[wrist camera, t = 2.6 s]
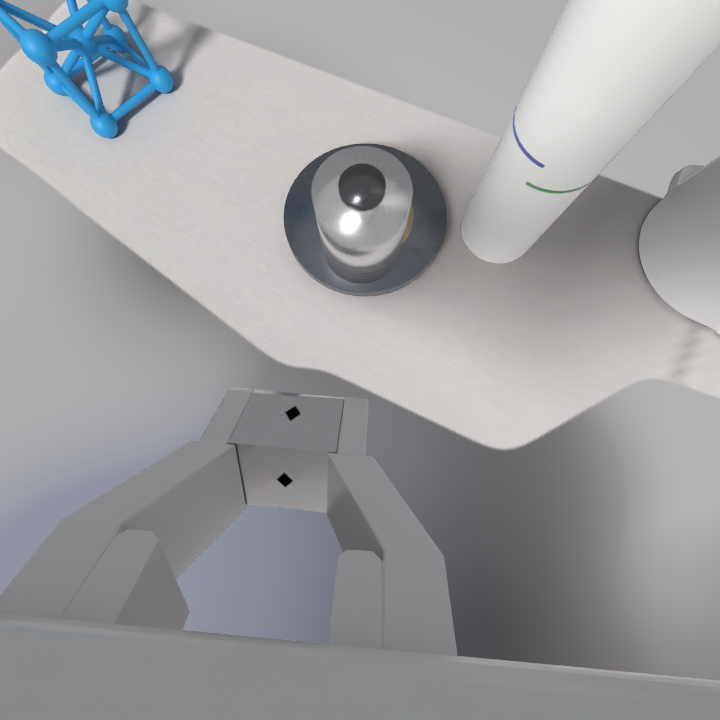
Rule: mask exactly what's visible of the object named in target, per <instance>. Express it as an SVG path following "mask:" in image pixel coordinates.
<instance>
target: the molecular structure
mask: <svg viewBox="0 0 720 720" xmlns="http://www.w3.org/2000/svg"><path fill="white" fill-rule="evenodd" d="M87 2H88V3H87V4H86V5H85V6H83V7H82V8H80V9H79V10H78V7H77V3H76V0H67V4H68V8H69V12H70V15H71V16H70V17H68V18H67V19H66V20H64V21H63V22H62V23H60V24H59V25H57V26H56V25H54V24H52V23H50V22H48V21H46V20H43V19H41V18H39V17H37V16H35V15H33V14H31V13H29V12H26V11H24V10H22V9H20V8H18V7H16V6H14V5H12V4H9V3H7V2H5V1H3V0H0V22H1V23H2V24H3V25H4V26H5V27H6V28H7V30H8V31H9V32H10V33H11V34H12V35H13V36H14V37H15V39H16V40H17V41H18V42H19V43H20V44H21V47H22V49H23V51H24V53H25V54H26V55H27V57H29V58H30V59H31V60H32V61H33V62H35V63H37V64H39V66H40V67H41V68H42V69H43V70H44V71H45V73H44V79H45V82H46V84H47V86H48V87H49V88H50V89H51V90H52V91H53V92H55V93H56V94H59V95H63V96H64V95H68V96H69V97H70V98H71V99H72V100H73V101H74V102H75V103H77V104H78V105H79V106H80V107H81V108H82V109H83V110H84V111H85V112H86V113H87V114H88V115H89V116H90V117H91V126H92V128H93V130H94V131H95V132H96V133H97V134H98V135H100V136H102V137H104V138H113V137H115V136H116V135H117V132H118V125H117V123H116V122H117V121H118V120H119V119H120V118H122V117H123V116H124V115H125V114H127V113H128V112H129V111H130V110H132V109H133V108H134V107H135V106H136V105H138V104H139V103H140V102H141V101H143V100H144V99H145V98H146V97H148V96H149V95H150V94H151V93H153V92H154V91H155V90H157V91H159V92H161V93H168V92H170V91H171V90H172V89H173V86H174V81H173V77H172V75H171V73H170V72H169V71H168V70H167V69H166V68H165V67H163V66H159V65H157V64H156V62H155V60H154V58H153V57H152V55H151V53H150V51H149V50H148V48H147V46H146V44H145V42H144V41H143V39H142V37H141V35H140V34H139V32H138V30H137V28H136V26H135V25H134V23H133V21H132V19H131V18H130V16H129V14H128V12H127V10H126V8H127V6H128V0H87ZM109 10H111V11H113V12H117V13H119V15H120V17H121V18H122V20H123V22H124V23H125V25H126V27H127V28H128V30H129V32H130V34H131V35H132V37H133V39H134V40H135V42H136V44H137V46H138V47H139V49H140V51H141V52H142V54H143V56H144V57H145V59H146V61H147V62H146V61H145V60H144V59H143V58H142V57H141V56H140V55H138V54H137V53H136V52H135V51H134V50H133V49H132V48H131V47H129V46H128V40H127V37H126V35H125V33H124V32H123V31H122V30H121V29H120V28H119V27H118V26H116V25H113V24H110V23H109V21H108V20H107V18H106V17H105V16H106V15H107V13H108V11H109ZM8 13H9V14H11V15H14V16H16V17H18V18H20V19H22V20H24V21H27V22H29V23H31V24H33V25H35V26H38V27H40V28H42V29H44V30H46V31H48V33H47V34H44V33H42V32H41V31H38V30H35V29H25V28H23V27H22V26H21V25H20V24H19V23H18V22H17V21H16V20H15V19H14V18H13V17H11V15H9V14H8ZM87 20H89V21H88V23H87V24H86V26H85V28H83V26H82V24H83V23H85V22H86V21H87ZM101 23H102V25H103V27H104V28H103V30H102V35H100V36H94V34H95V32H96V31H97V29H98V28H99V26H100V24H101ZM109 49H111V50H113V51H115V52H118V53H121V52H124V51H125V52H126V53H127V54H128V55H129V56H130V57H131V58H132V59H134V60H135V61H136V62H137V63H138V64H137V63H134V62H132V61H130V60H128V59H126V58H124V57H122V56H120V55H117V54H115V53H113V52H111V51H109ZM65 50H71V52H70V53H69V55H68V57H67V58H66V60H65V62H64V63H63V65H62V67H60V65H59V64H58V63H57V62H56V60H57V51H65ZM80 56H81V57H82V58H81V59H79V58H80ZM100 56H103V57H105V58H107V59H109V60H111V61H113V62H116V63H118V64H120V65H122V66H124V67H126V68H129V69H131V70H133V71H135V72H137V73H139V74H142V75H144V76H146V77H148V78H149V80H150V83H149V84H147V85H146V86H145V87H144V88H142V89H141V90H140V91H139V92H137V93H136V94H135V95H134V96H132V97H131V98H130V99H129V100H127V101H126V102H125V103H124V104H122V105H121V106H120V107H119V108H117V109H116V110H115V111H114V112H112V113H111V114H110V115H109V114H108V113H106V112H105V110H104V106H103V102H102V98H101V94H100V91H99V87H98V83H97V79H96V75H95V72H94V68H93V64H92V62H94V61H95V60H96V59H98V58H99V57H100ZM84 68H85V70H86V74H87V78H88V81H89V85H90V89H91V92H92V96H93V100H94V103H95V107H96V109H95V107H94V106H93V105H92V104H91V103H90V101H89V100H88V99H87V98H86V97H85V95H84V94H83V93H82V92H81V91H80V89H79V88H78V87H77V86H76V85H75V83H74V82H73V81H72V80H71V78H73V77H74V76H75V75H77V74H78V73H79V72H81V71H82V70H83V69H84Z"/></svg>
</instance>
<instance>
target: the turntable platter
mask: <svg viewBox="0 0 720 720" xmlns="http://www.w3.org/2000/svg"><path fill="white" fill-rule="evenodd" d="M354 146H370V147H375V148H379V149H382V150H384V151H386V152H388V153H390V154H392V155H393V156H395V157H396V158H397V159H398V160H399V161H400V162H401V163H402V164H403V165H404V166H405V168H406V170H407V171H408V173H409V175H410V178H411V181H412V187H413V196H412V202H411V206H410V211H409V215H408V220H407V224H406V229H405V233H404V238H403V242H402V247H401V251H400V256H399V259H398V261H397V263H396V265H395V267H394V268H393V269H392V271H391V272H390V273H389V274H387V275H386V276H385V277H383V278H382V279H380V280H378V281H375V282H371V283H364V284H360V283H352V282H349V281H346V280H344V279H342V278H340V277H339V276H337V275H336V274H335V273H334V272H333V271H332V270H331V269H330V267H329V266H328V264H327V262H326V260H325V257H324V252H323V248H322V243H321V238H320V234H319V229H318V224H317V220H316V215H315V210H314V206H313V201H312V194H311V189H312V182H313V178H314V176H315V173H316V172H317V170H318V168H319V167H320V165H321V164H322V163H323V162H324V161H325V160H326V159H327V158H328V157H330V156H331V155H333V154H334V153H336V152H338V151H340V150H342V149H346V148H349V147H354ZM284 227H285V232H286V236H287V239H288V242H289V245H290V247H291V250H292V252H293V254H294V256H295V258H296V260H297V261H298V263H299V264H300V265H301V267H302V268H303V269H304V270H305V271H306V272H307V273H308V274H309V275H310V276H311V277H312V278H313V279H315V280H316V281H317V282H319V283H320V284H322V285H324V286H325V287H327V288H330V289H332V290H334V291H337V292H340V293H344V294H348V295H354V296H377V295H382V294H387V293H390V292H393V291H396V290H398V289H400V288H402V287H404V286H406V285H408V284H410V283H411V282H413V281H414V280H416V279H417V278H418V277H419V276H420V275H421V274H422V273H423V272H424V271H425V270H426V269H427V268H428V267H429V265H430V264H431V262H432V261H433V259H434V258H435V256H436V254H437V252H438V250H439V247H440V245H441V243H442V240H443V237H444V233H445V227H446V208H445V202H444V199H443V195H442V193H441V190H440V188H439V186H438V184H437V183H436V181H435V179H434V178H433V176H432V175H431V174H430V173H429V172H428V170H427V169H426V168H425V167H424V166H423V165H421V164H420V163H419V162H418V161H416V160H415V159H414V158H412V157H411V156H409V155H407V154H405V153H403V152H401V151H399V150H396V149H394V148H391V147H387V146H383V145H376V144H353V145H348V146H343V147H340V148H336V149H333V150H331V151H329V152H327V153H324V154H323V155H321V156H319V157H318V158H316V159H315V160H314V161H312V162H311V163H310V164H308V165H307V166H306V167H305V168H304V169H303V170H302V171H301V173H300V174H299V175H298V177H297V178H296V179H295V181H294V183H293V184H292V186H291V188H290V190H289V193H288V196H287V199H286V203H285V208H284Z"/></svg>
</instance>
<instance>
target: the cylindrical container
mask: <svg viewBox="0 0 720 720" xmlns="http://www.w3.org/2000/svg"><path fill="white" fill-rule="evenodd" d="M719 45H720V0H568V2H567V4H566V6H565V8H564V10H563V12H562V14H561V16H560V18H559V21H558V22H557V25H556V27H555V29H554V31H553V33H552V35H551V37H550V39H549V41H548V43H547V45H546V47H545V49H544V51H543V54H542V56H541V58H540V60H539V62H538V64H537V66H536V68H535V70H534V72H533V74H532V76H531V78H530V80H529V82H528V84H527V87H526V88H525V90H524V92H523V95H522V97H521V99H520V101H519V103H518V105H517V107H516V109H515V111H514V113H513V115H512V117H511V119H510V121H509V124H508V126H507V128H506V130H505V132H504V134H503V136H502V138H501V140H500V142H499V144H498V146H497V148H496V150H495V153H494V155H493V157H492V159H491V161H490V163H489V165H488V167H487V169H486V171H485V173H484V175H483V177H482V179H481V182H480V184H479V186H478V188H477V190H476V192H475V194H474V196H473V198H472V200H471V202H470V204H469V206H468V208H467V210H466V212H465V214H464V216H463V219H462V223H461V234H462V238H463V241H464V243H465V245H466V246H467V248H468V249H469V250H470V251H471V252H472V253H473V254H474V255H475V256H477V257H478V258H480V259H482V260H484V261H487V262H490V263H498V264H500V263H508V262H512V261H514V260H516V259H518V258H520V257H521V256H522V255H523V254H524V253H525V252H526V251H527V250H528V249H529V248H530V247H531V246H532V245H533V244H534V243H535V242H536V241H537V240H538V239H539V237H540V236H541V235H542V234H543V233H544V232H545V231H546V230H547V229H548V228H549V227H550V226H551V225H552V224H553V222H554V221H555V220H556V219H557V218H558V217H559V216H560V215H561V214H562V213H563V212H564V211H565V210H566V209H567V208H568V206H569V205H570V204H571V203H572V202H573V201H574V200H575V199H576V198H577V197H578V196H579V195H580V194H581V193H582V191H583V190H584V189H585V188H586V187H587V186H588V185H589V184H590V183H591V182H592V181H593V180H594V179H595V178H596V177H597V175H598V174H599V173H600V172H601V171H602V170H603V169H604V168H605V167H606V166H607V165H608V164H609V163H610V161H611V160H612V159H613V158H614V157H615V156H616V155H617V154H618V153H619V152H620V151H621V150H622V149H623V148H624V147H625V146H626V144H627V143H628V142H629V141H630V140H631V139H632V138H633V137H634V136H635V135H636V134H637V133H638V132H639V130H640V129H641V128H642V127H643V126H644V125H645V124H646V123H647V122H648V121H649V120H650V119H651V117H653V115H655V113H656V112H657V111H658V110H659V109H660V108H661V107H662V106H663V105H664V104H665V103H666V102H667V101H668V100H669V98H670V97H671V96H672V95H673V94H674V93H675V92H676V91H677V90H678V89H679V88H680V87H681V86H682V85H683V84H684V82H685V81H686V80H687V79H688V78H689V77H690V76H691V75H692V74H693V73H694V72H695V71H696V70H697V69H698V67H699V66H700V65H701V64H702V63H703V62H704V61H705V60H706V59H707V58H708V57H709V56H710V55H711V53H713V51H714V50H715V49H716V48H717V47H718V46H719Z"/></svg>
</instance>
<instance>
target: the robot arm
mask: <svg viewBox="0 0 720 720" xmlns="http://www.w3.org/2000/svg"><path fill="white" fill-rule="evenodd" d="M639 254H640V260H641V264H642V267H643V270H644V272H645V274H646V277H647V278H648V280H649V282H650V284H651V285H652V287H653V288H654V290H655V291H656V292H657V293H658V295H659V296H660V297H661V298H662V299H663V300H664V301H665V302H666V303H667V304H668V305H670V306H671V307H672V308H673V309H675V310H676V311H678V312H679V313H681V314H682V315H684V316H686V317H688V318H690V319H692V320H694V321H697V322H699V323H701V324H704V325H706V326H708V327H710V328H712V329H714V330H715V331H716V332H717V333H718V334H719V335H720V156H719V157H718V158H716V159H715V160H713V161H712V162H711V163H709V164H707V165H706V166H695V165H692V166H687V167H685V168H683V169H682V170H680V171H679V172H677V173H676V174H675V175H674V176H673V178H672V180H671V183H670V186H669V189H668V192H667V194H666V196H665V197H664V198H663V199H662V200H661V201H660V202H659V203H658V204H657V205H656V206H655V207H654V208H653V209H652V210H651V211H650V213H649V214H648V216H647V217H646V219H645V221H644V223H643V225H642V228H641V232H640V237H639ZM367 419H368V400H367V399H362V398H340V397H339V398H338V397H327V396H315V395H302V394H301V395H300V394H294V393H285V392H275V391H267V390H258V389H256V390H253V389H245V388H236V387H233V388H232V389H230V390H229V391H228V392H227V394H226V395H225V397H224V399H223V401H222V402H221V404H220V406H219V407H218V409H217V411H216V413H215V414H214V416H213V418H212V420H211V421H210V424H209V425H208V426H207V428H206V430H205V432H204V434H203V435H202V437H201V439H200V441H191V442H189V443H187V444H186V445H184V446H182V447H181V448H179V449H177V450H176V451H174V452H172V453H171V454H169V455H168V456H166V457H164V458H163V459H161V460H159V461H158V462H156V463H154V464H153V465H151V466H150V467H148V468H146V469H144V470H143V471H141V472H140V473H138V474H136V475H135V476H133V477H131V478H130V479H128V480H126V481H125V482H123V483H121V484H120V485H118V486H117V487H115V488H113V489H112V490H110V491H108V492H107V493H105V494H104V495H102V496H100V497H99V498H97V499H95V500H94V501H92V502H90V503H89V504H87V505H85V506H84V507H82V508H80V509H79V510H77V511H76V512H74V513H72V514H71V515H69V516H67V517H66V518H64V519H62V520H61V521H60V522H59V523H58V525H57V526H56V527H55V528H54V530H53V531H52V532H51V534H50V535H49V536H48V537H47V538H46V540H45V541H44V542H43V543H42V545H41V546H40V547H39V548H38V549H37V551H36V552H35V553H34V555H33V556H32V557H31V558H30V559H29V561H28V562H27V563H26V564H25V566H24V567H23V568H22V569H21V571H20V572H19V573H18V574H17V576H16V577H15V578H14V579H13V581H12V582H11V583H10V584H9V586H8V587H7V588H6V589H5V590H4V592H3V593H2V594H1V595H0V720H720V681H717V680H706V679H695V678H685V677H674V676H664V675H653V674H643V673H632V672H621V671H611V670H600V669H590V668H579V667H567V666H557V665H546V664H536V663H526V662H515V661H505V660H494V659H482V658H472V657H462V656H457V650H456V643H455V635H454V628H453V620H452V613H451V605H450V599H449V591H448V583H447V576H446V569H445V562H444V556H443V555H442V553H441V552H440V550H439V549H438V548H437V546H436V545H435V543H434V542H433V541H432V539H431V538H430V536H429V535H428V534H427V532H426V531H425V529H424V528H423V527H422V525H421V524H420V522H419V521H418V520H417V518H416V517H415V515H414V514H413V513H412V511H411V510H410V508H409V507H408V506H407V504H406V503H405V501H404V500H403V499H402V497H401V496H400V494H399V493H398V492H397V490H396V489H395V487H394V486H393V485H392V483H391V482H390V480H389V479H388V478H387V476H386V475H385V473H384V472H383V471H382V469H381V468H380V466H379V465H378V464H377V462H376V461H375V459H374V458H373V457H368V456H365V455H366V437H367ZM246 506H262V507H278V508H291V509H299V510H308V511H317V512H324V513H327V517H328V519H329V521H330V523H331V526H332V528H333V530H334V533H335V535H336V537H337V540H338V542H339V544H340V547H341V549H342V551H343V553H342V554H341V555H340V556H339V557H338V565H337V573H336V581H335V589H334V599H333V606H332V614H331V623H330V631H329V639H328V644H324V643H313V642H303V641H291V640H281V639H271V638H259V637H249V636H239V635H228V634H218V633H207V632H196V631H185V630H183V627H184V625H185V622H186V620H187V617H188V614H189V609H188V606H187V604H186V601H185V599H184V597H183V594H182V592H181V590H180V588H179V586H178V583H177V581H176V579H177V578H178V577H179V576H180V575H181V574H182V573H183V572H184V571H185V569H187V568H188V567H189V566H190V564H192V563H193V562H194V561H195V559H196V558H197V557H198V556H199V555H200V554H201V553H202V552H203V551H204V550H205V549H206V548H207V547H208V546H209V545H210V544H211V543H212V542H213V541H214V540H215V539H216V538H217V537H218V536H219V535H220V534H221V533H222V532H223V531H224V530H225V529H226V528H227V527H228V526H229V525H230V524H231V523H232V522H233V521H234V520H235V519H236V518H237V517H238V516H239V515H240V514H241V513H242V512H243V511H244V510H245V509H246Z"/></svg>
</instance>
